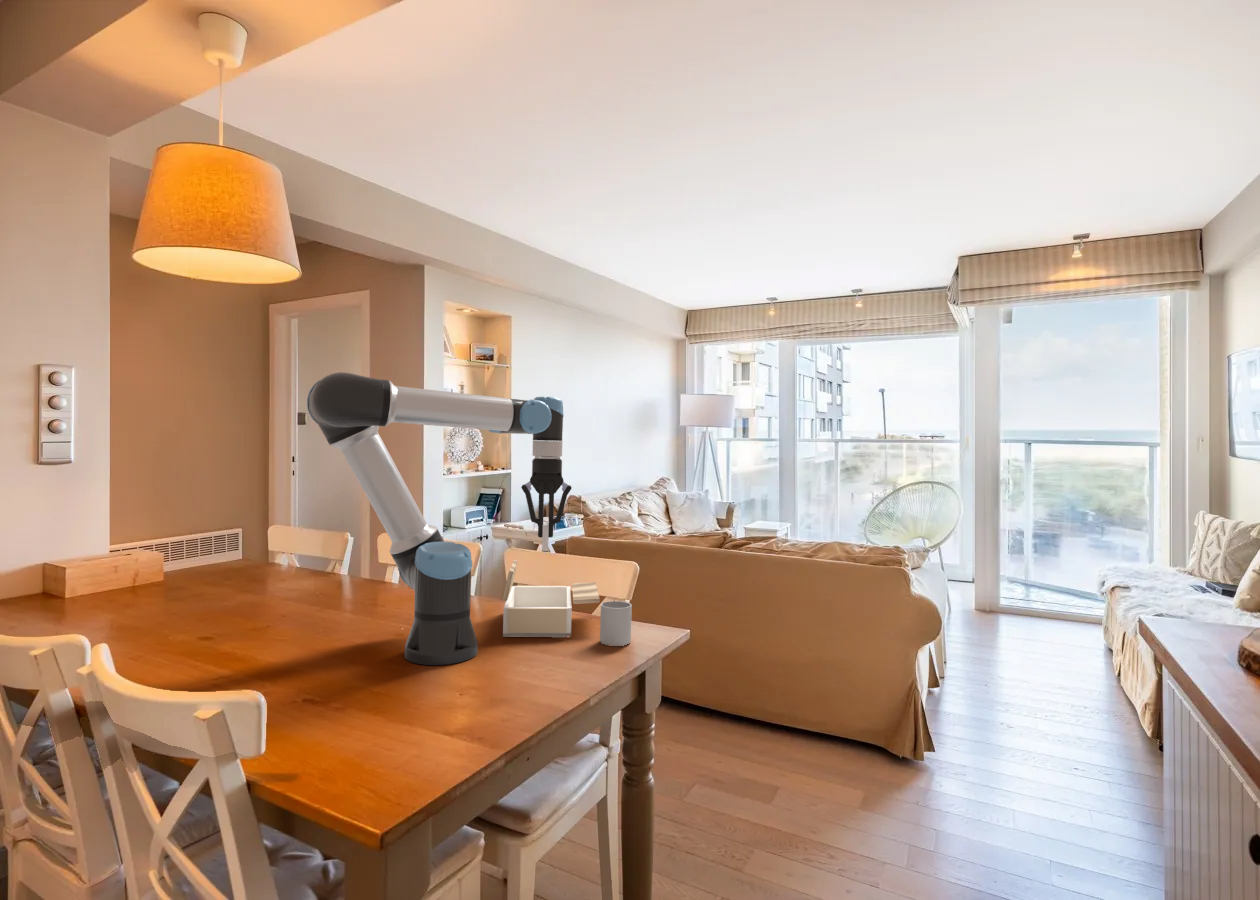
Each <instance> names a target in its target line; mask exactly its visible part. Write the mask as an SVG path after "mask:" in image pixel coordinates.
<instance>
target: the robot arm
mask: <svg viewBox="0 0 1260 900" xmlns="http://www.w3.org/2000/svg"><path fill="white" fill-rule="evenodd" d="M306 398H307V399H306V401H307V402H306V405H307V406H306V407H307V411H308V414H309V415H310V418H311V419H312V420H313V421H314V422H315V423H316V424H317V425H318V427H319V430H320V431H321V432H322V434H323V436H324V438H325V440H326V441H327V442H328V445H329V446H331V447H333V448H336V449H339V450H340V451H341V453H342V454H343V457H344V459H345V460H346V461H347V464H348V465H349V467H350V469H351V471H352V473H353V474H354V476H355V478H356V480H357V481H358V483H359V485H360V487H361V489H362V491H363V492H364V494H365V496H366V498H367V500H368V501H369V503H370V505H371V507H372V508H373V510H374V512H375V514H376V516H377V518H378V519H379V521H380V523H381V525H382V526H383V528H384V530H385V532H386V533H387V536H388V537H389V539H390V541H391V545H390V548H389V550H388V551H389V553H390V556H391V557H392V559H393V561H394V562H395V565H396V566H397V570H398V572H399V573H398V575H400V576H399V577H400V578H401V580H402V581H403V582H404V583H405V584H406V586H408V587H409V588H411V589H412V590H413V591H414V613H413V614H414V616H413V618H414V619H413V622H412V625H411V628H410V630H409V634H408V637H407V640H406V642H405V646H404V658H405V660H407V661H408V662H410V663H414V664H418V665H425V666H442V665H443V666H444V665H453V664H457V663H462V662H466V661H468V660H470V659H473V658H474V657H476V656H477V654H478V650H479V649H478V646H479V641H478V639H477V635H476V631H475V629H474V625H473V622H472V619H471V602H472V601H471V599H472V598H471V597H472V595H471V594H472V568H473V559H472V552H471V549H469V547H467V546H466V545H464V544H462V543H456V542H453V541H445V540H444V538H443V537H442V534H441V533H440V531H439V529H438V527H437V526H435V525H432V524H428V523H427V521H426V519H425V517H424V516H423V513H422V512H421V510H420V508H419V506H418V504H417V503H416V500H415V499H414V497H413V495H412V494H411V492H410V489H409V488H408V486H407V484H406V482H405V480H404V478H403V477H402V475H401V473H400V471H399V470H398V467H397V465H396V463H395V461H394V459H393V458H392V456H391V454H390V452H389V450H388V449H387V446H386V445H385V443H384V441H383V439H382V438H381V436H380V433H379V428H380V427H387V426H389V425H390V424H392V423H396V424H397V423H399V424H407V425H408V424H410V425H424V426H435V427H436V426H437V427H445V428H446V427H447V428H462V429H475V430H485V431H486V430H487V431H488V432H489V433H494V434H501V435H502V434H519V435H521V434H523V435H524V434H525V435H526V434H528V435H532V453H531V454H532V456H533V457H534V458H533V459H532V460H531V461H532V462H531V464H532V465H531V476H530V478H529V481H528V482H526V483H524V484H522V485H521V486H520V487H521V490H522V491H523V493H524V494H525V498H526V503H527V508H528V513H529V516H530V521H531V522H532V523H535V524H536V525H537V536H538V538H541V539H542V540H541V541H542V543H541V545H542V546H541V552H549V538H553V537H554V525H555V524H558V523H560V522H561V519H562V516H563V512H564V508H565V504H566V503H567V497H568V495H569V493H570V491H571V490H572V485H571V484H568V483H566V482H565V481H564V478H563V473H562V472H563V459H561V457H562V456H563V432H564V431H563V429H564V428H563V427H564V404H563V403H564V402H563V400H562V399H561V398H560V397H554V396H536V397H534V399H529V400H527V399H517V398H508V397H500V396H499V397H498V396H490V395H481V394H472V393H471V394H470V393H463V392H462V393H461V392H453V391H445V390H437V389H436V390H435V389H427V388H426V389H424V388H418V387H417V388H416V387H409V386H399V385H395V384H394V383H393V382H392V381H391V380H389V379H380V378H375V377H369V376H364V375H359V374H356V373H355V374H354V373H351V372H341V371H340V372H334V373H330V374H328V375H325V377H323V378H321V379H319V380H318V381H316V383H314V384H313V385H312V387H311V388H310V390H309V391H308V395H307V397H306ZM532 487H533V488H534V490H535V491H536V493H538V511H537V513H538V516H537V515H536V510H535V506H534V503H533V499H532V498H533V497H532V494H531V490H532ZM560 488H561V491H562V494H561V497H560V502H559V506H558V509H557V514H556V517H554V516H555V513H554V512H555V511H554V510H555V509H554V508H555V506H554V505H555V494H556V493H557V492H558V491H559V489H560ZM546 494H547V495H548V523H544V512H545V511H544V510H545V509H544V507H545V506H544V504H545V501H544V500H545V495H546ZM536 516H537V517H536Z"/></svg>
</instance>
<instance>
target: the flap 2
mask: <svg viewBox="0 0 1260 900" xmlns="http://www.w3.org/2000/svg"><path fill="white" fill-rule="evenodd" d="M571 593H572V600H573V601H572V602H573V603H572V604H573V605H580V604H581V605H582V604H583V605H584V604H597V603H598V604H599V603H600V602H601V601H600V600H601V598H600V595H599V590H598V587H597V582H596V581H591V582H577V583H576V582H574V583H571Z"/></svg>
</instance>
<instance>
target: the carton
mask: <svg viewBox="0 0 1260 900" xmlns="http://www.w3.org/2000/svg"><path fill="white" fill-rule="evenodd" d="M572 608H573V606H572V588H571V586H566V585H512V588H511V591H510V594H509V597H508V600H507V601H505V603H504V605H503V618H502V619H503V620H502V623H503V624H502V625H503V626H502V638H503V637H552V638H568V637H567V636H571V637H572V612H573V611H572ZM563 636H564V637H563Z"/></svg>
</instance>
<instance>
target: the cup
mask: <svg viewBox="0 0 1260 900" xmlns="http://www.w3.org/2000/svg"><path fill="white" fill-rule="evenodd" d="M632 607H633V606H632V604H631V603H630V602H628V601H622V600H609V601H608V600H607V601H604V602H603V601H602V603H601V604H600V623H599V624H600V627H599V628H600V629H599V630H600V631H599V640H600V641H599V642H600V643H601V645H603V644H605V645H611V646H623V645H627V644H629V643H630V644H631V640H632ZM630 644H629V645H630ZM605 645H604V646H605ZM627 646H628V645H627ZM623 647H624V646H623Z"/></svg>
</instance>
